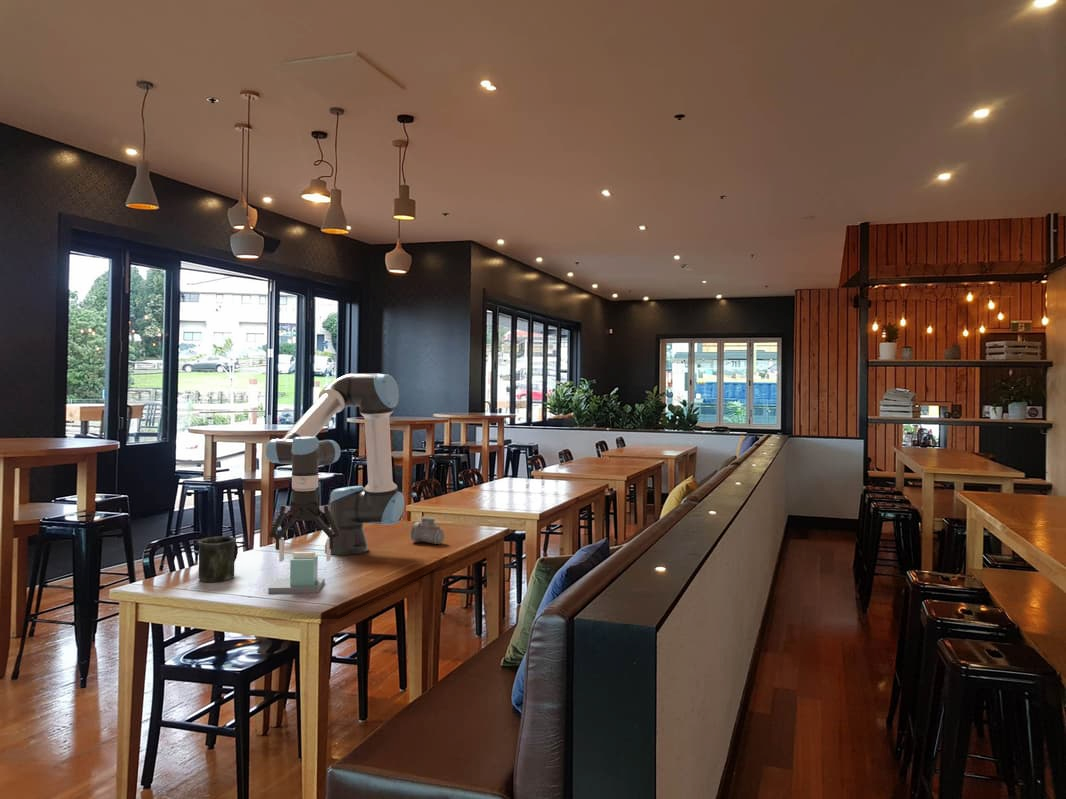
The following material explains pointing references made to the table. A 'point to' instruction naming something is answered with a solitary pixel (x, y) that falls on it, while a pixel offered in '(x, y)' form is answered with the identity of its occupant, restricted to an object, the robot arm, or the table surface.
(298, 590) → the post board
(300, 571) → the teal cube with ledge
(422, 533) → the pipe fitting
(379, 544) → the table surface
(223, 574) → the mug
